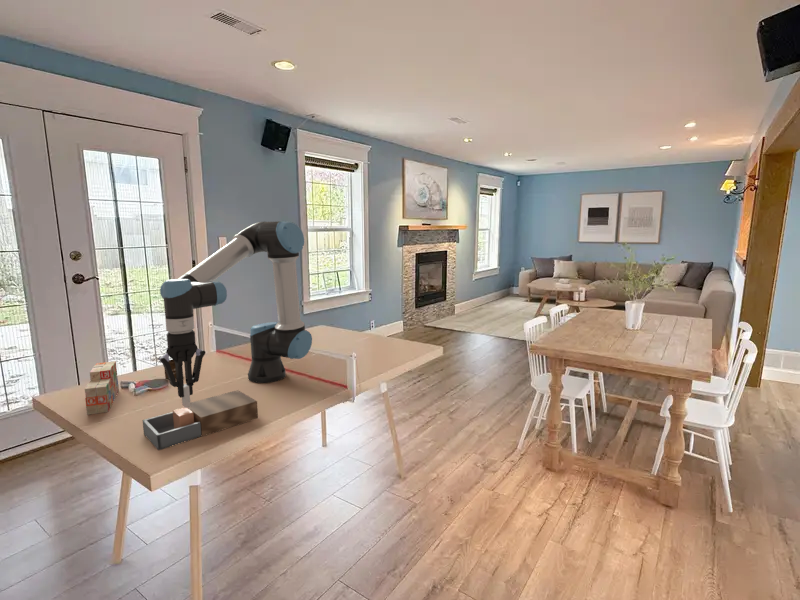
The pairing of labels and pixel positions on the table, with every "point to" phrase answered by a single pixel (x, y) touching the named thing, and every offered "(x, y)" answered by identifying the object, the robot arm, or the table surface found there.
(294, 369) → the table surface
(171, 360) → the utensil holder
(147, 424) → the box
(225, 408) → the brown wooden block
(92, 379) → the stack of blocks
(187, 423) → the salmon orange block
